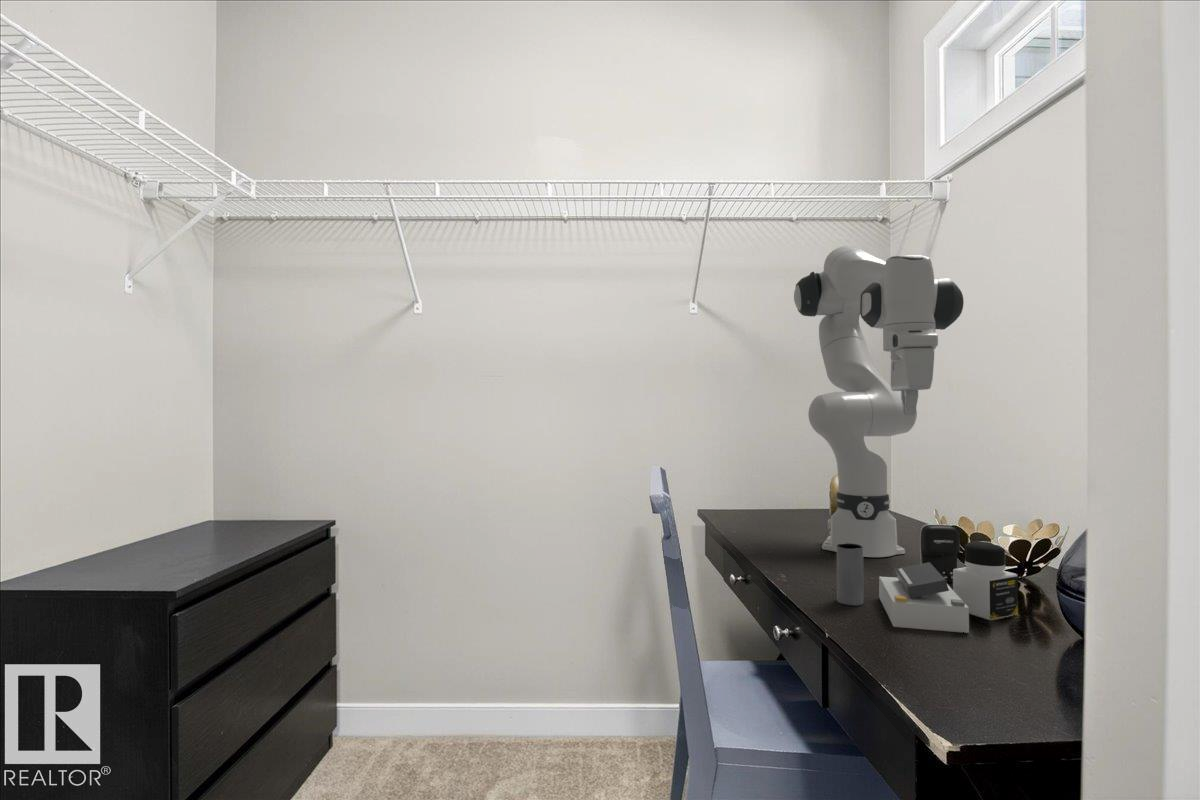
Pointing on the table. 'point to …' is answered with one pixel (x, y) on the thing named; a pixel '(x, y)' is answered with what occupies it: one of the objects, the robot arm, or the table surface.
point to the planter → (850, 574)
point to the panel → (923, 608)
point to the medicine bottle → (986, 582)
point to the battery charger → (940, 548)
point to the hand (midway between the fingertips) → (909, 415)
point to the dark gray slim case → (921, 580)
